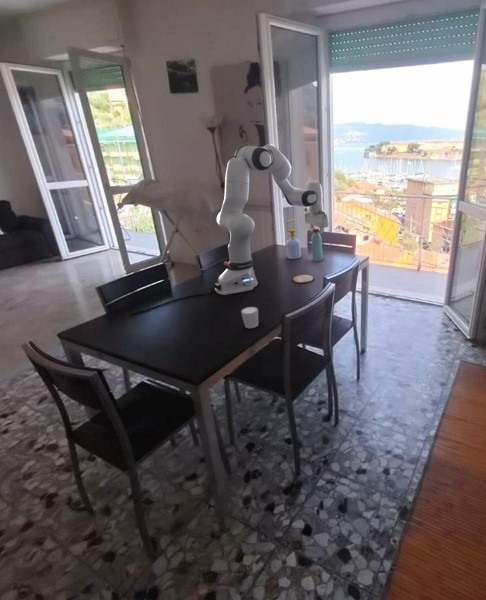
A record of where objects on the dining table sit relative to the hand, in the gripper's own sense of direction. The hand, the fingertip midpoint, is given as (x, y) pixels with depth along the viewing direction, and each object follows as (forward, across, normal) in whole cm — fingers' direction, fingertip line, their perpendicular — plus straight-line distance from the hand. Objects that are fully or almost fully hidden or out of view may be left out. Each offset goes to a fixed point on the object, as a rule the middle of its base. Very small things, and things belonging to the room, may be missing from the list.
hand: (316, 232), depth 219 cm
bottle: (+18, 0, +1) cm, 18 cm away
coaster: (+18, -23, +27) cm, 39 cm away
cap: (-2, 0, +1) cm, 2 cm away
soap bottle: (+18, +15, +9) cm, 25 cm away
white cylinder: (+18, -52, +72) cm, 90 cm away
